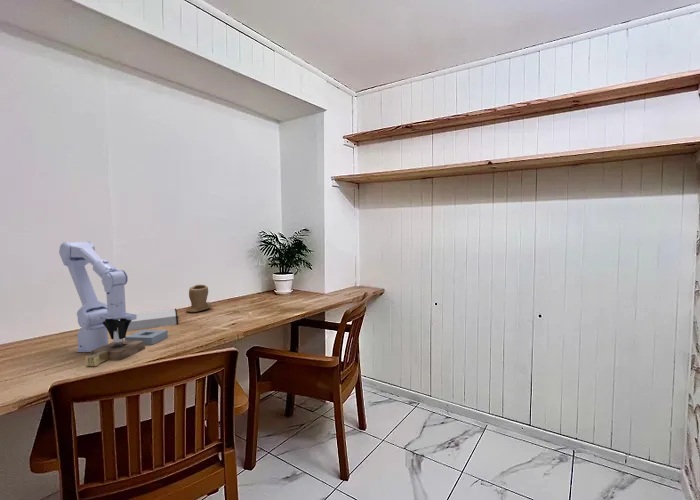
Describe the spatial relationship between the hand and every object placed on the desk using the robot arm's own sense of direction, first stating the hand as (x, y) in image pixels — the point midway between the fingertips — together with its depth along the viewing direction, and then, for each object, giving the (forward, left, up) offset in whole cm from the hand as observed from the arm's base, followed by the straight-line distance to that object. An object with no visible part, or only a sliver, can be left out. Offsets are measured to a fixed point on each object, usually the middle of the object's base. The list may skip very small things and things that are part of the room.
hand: (118, 338), depth 130 cm
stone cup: (-7, +68, -6) cm, 69 cm away
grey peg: (0, 0, -5) cm, 5 cm away
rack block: (0, +15, -6) cm, 16 cm away
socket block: (0, 0, -6) cm, 6 cm away
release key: (0, -9, -6) cm, 11 cm away
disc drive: (-17, +40, -7) cm, 44 cm away
